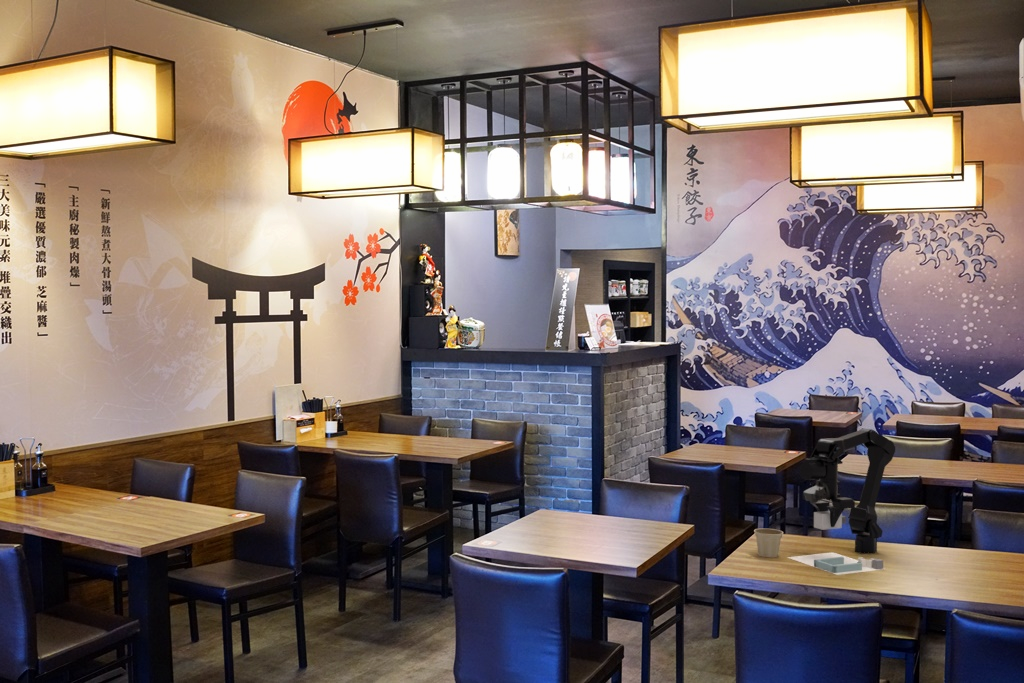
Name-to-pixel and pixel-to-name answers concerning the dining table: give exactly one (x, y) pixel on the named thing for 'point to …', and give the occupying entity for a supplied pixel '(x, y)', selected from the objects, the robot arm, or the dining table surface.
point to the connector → (827, 520)
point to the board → (810, 558)
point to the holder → (830, 562)
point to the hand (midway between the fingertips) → (827, 525)
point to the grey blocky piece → (877, 564)
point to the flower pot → (768, 542)
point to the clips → (866, 562)
